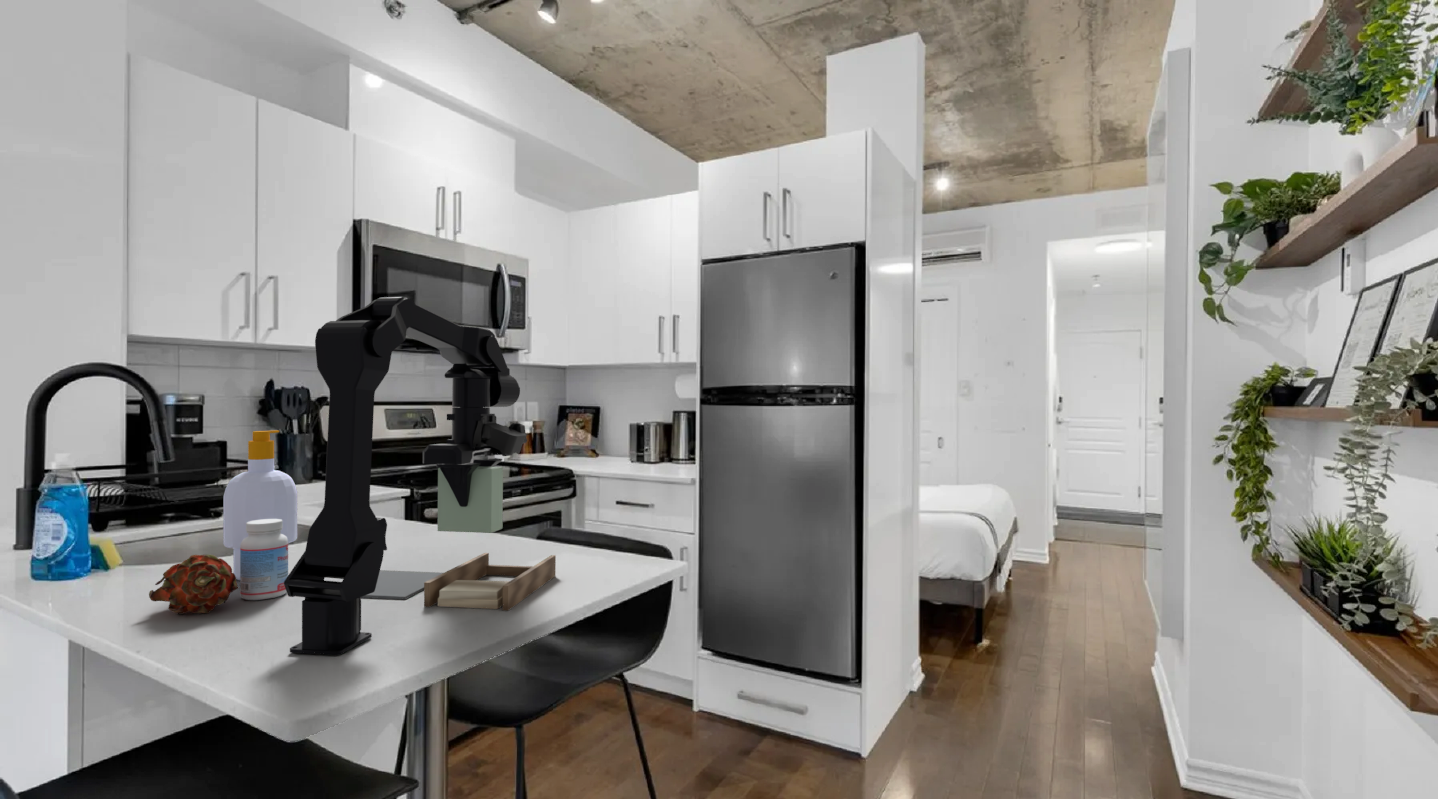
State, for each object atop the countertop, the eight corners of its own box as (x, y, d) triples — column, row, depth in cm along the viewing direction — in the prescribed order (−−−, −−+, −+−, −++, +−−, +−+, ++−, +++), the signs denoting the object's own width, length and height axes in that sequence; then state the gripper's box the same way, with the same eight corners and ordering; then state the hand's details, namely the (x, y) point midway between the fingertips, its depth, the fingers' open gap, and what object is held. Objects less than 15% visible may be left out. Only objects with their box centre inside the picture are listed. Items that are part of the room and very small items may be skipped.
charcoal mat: (405, 599, 104) (405, 596, 104) (318, 595, 105) (318, 592, 105) (452, 575, 118) (452, 572, 118) (374, 572, 119) (374, 569, 119)
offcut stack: (496, 609, 99) (496, 592, 99) (436, 606, 100) (436, 590, 100) (514, 596, 105) (514, 581, 105) (458, 594, 106) (458, 578, 106)
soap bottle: (311, 570, 120) (311, 430, 120) (259, 586, 110) (259, 433, 110) (262, 566, 122) (262, 429, 122) (207, 582, 112) (207, 432, 112)
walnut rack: (508, 610, 99) (508, 585, 99) (424, 606, 100) (424, 582, 100) (555, 576, 117) (555, 555, 117) (484, 573, 119) (484, 552, 119)
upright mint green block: (491, 533, 110) (491, 469, 110) (437, 531, 111) (438, 468, 111) (502, 528, 114) (503, 467, 114) (450, 526, 115) (451, 465, 115)
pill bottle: (289, 597, 104) (289, 522, 104) (240, 603, 101) (240, 526, 101) (287, 587, 109) (287, 516, 109) (240, 593, 106) (240, 520, 106)
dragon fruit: (219, 630, 94) (168, 630, 99) (267, 581, 101) (217, 583, 106) (173, 588, 90) (122, 591, 95) (226, 539, 97) (176, 544, 102)
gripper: (492, 408, 102) (491, 515, 102) (541, 407, 120) (540, 498, 120) (421, 407, 103) (420, 513, 103) (480, 406, 122) (479, 496, 122)
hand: (470, 504), depth 112 cm, fingers closed on upright mint green block, 4 cm apart
